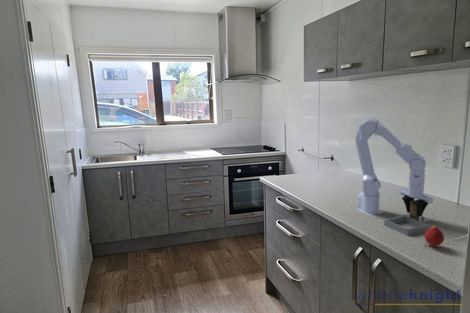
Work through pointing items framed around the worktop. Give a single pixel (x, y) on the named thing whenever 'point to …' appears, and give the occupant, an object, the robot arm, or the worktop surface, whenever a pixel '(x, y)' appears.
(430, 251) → the worktop surface
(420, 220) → the plate
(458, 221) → the worktop surface
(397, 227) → the bin
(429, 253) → the worktop surface
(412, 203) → the brown wooden cylinder
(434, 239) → the onion
